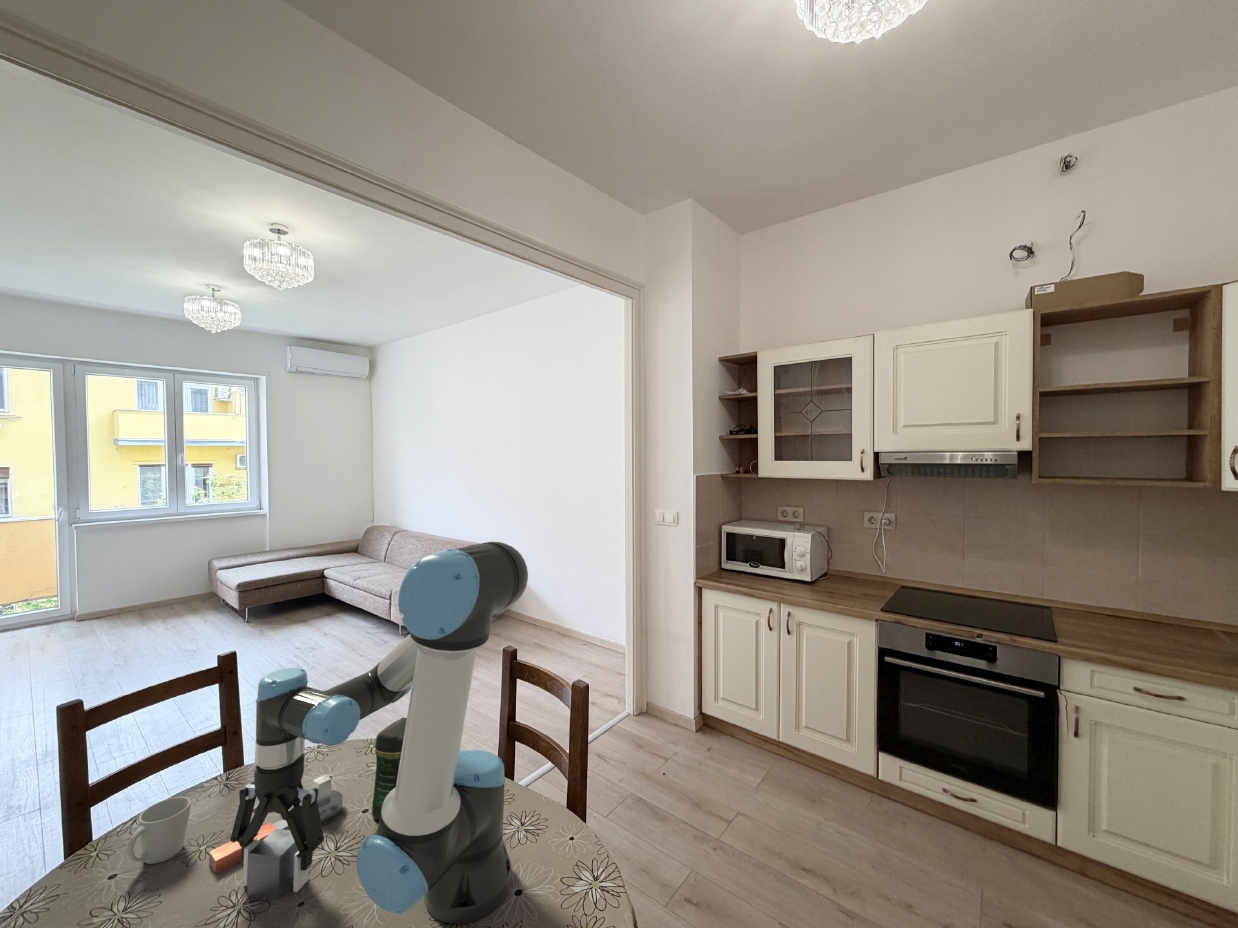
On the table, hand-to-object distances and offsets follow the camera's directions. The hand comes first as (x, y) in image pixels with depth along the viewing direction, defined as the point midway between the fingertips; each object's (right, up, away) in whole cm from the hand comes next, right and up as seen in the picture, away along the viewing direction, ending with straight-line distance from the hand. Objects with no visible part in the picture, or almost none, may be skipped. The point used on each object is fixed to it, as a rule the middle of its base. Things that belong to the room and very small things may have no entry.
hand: (275, 882), depth 90 cm
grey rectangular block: (0, 0, 0) cm, 0 cm away
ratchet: (-7, 0, +12) cm, 14 cm away
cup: (-26, 0, +5) cm, 27 cm away
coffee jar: (+13, -1, +20) cm, 24 cm away
